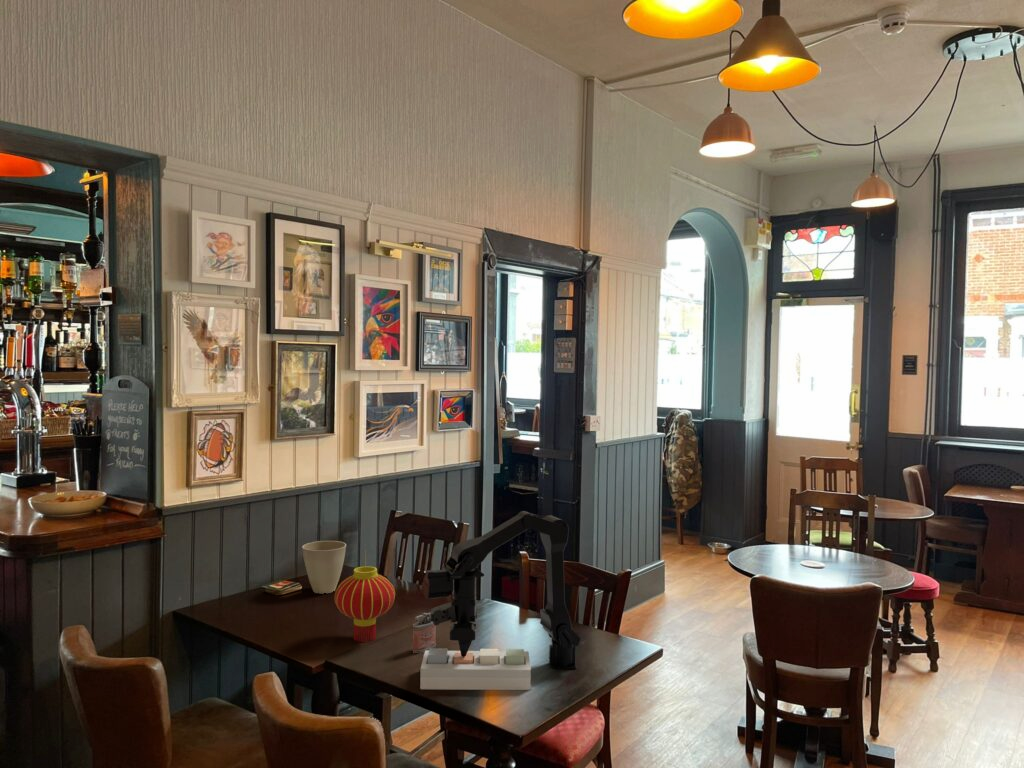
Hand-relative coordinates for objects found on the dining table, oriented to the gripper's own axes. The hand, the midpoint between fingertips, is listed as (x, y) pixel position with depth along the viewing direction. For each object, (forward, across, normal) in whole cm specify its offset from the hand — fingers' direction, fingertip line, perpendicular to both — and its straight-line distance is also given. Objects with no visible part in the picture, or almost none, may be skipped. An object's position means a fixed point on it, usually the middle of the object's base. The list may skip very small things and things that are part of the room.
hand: (463, 655), depth 191 cm
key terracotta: (+3, 0, 0) cm, 3 cm away
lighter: (+6, -20, -12) cm, 24 cm away
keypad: (+6, 0, +3) cm, 7 cm away
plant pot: (+6, -73, -52) cm, 90 cm away
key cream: (+1, 0, +6) cm, 7 cm away
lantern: (+6, -28, -30) cm, 41 cm away
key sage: (+2, 0, +13) cm, 13 cm away
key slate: (+1, 0, -6) cm, 7 cm away
